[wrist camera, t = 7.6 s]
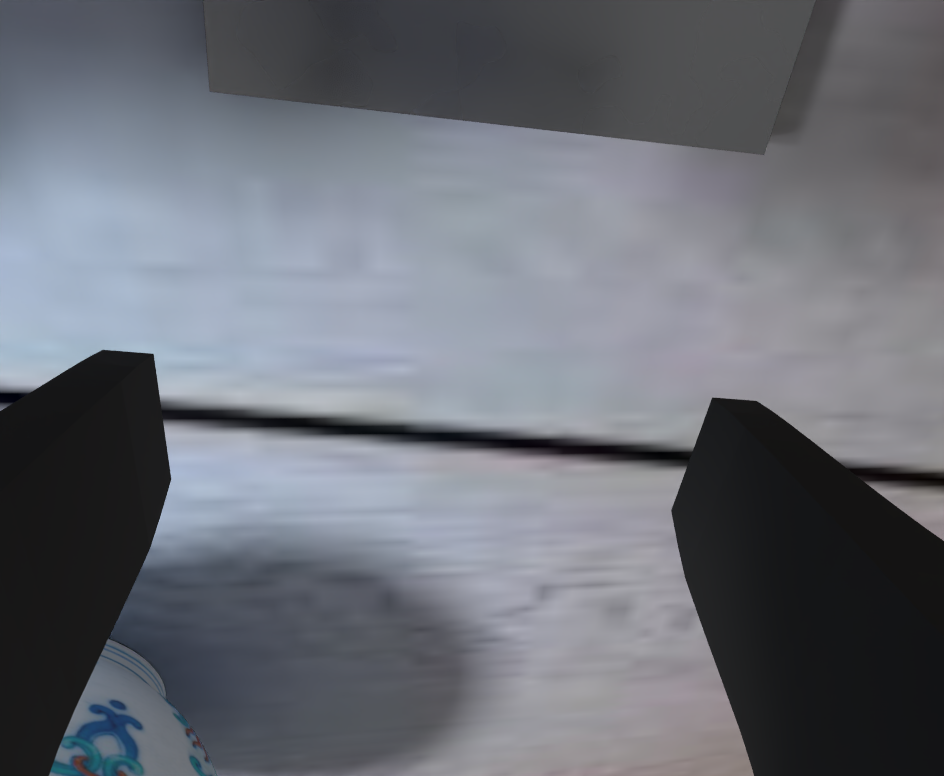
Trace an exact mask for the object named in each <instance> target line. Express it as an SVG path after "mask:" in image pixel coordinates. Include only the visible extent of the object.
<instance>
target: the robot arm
mask: <svg viewBox="0 0 944 776" xmlns="http://www.w3.org/2000/svg"><path fill="white" fill-rule="evenodd" d="M170 482H171V475H170V467H169V460H168V453H167V446H166V439H165V432H164V425H163V418H162V411H161V404H160V397H159V389H158V382H157V375H156V368H155V361H154V354H148V353H135V352H122V351H110V350H102V351H100V352H98V353H96V354H94V355H92V356H90V357H88V358H87V359H85V360H83V361H81V362H80V363H78V364H76V365H75V366H73V367H71V368H70V369H68V370H66V371H65V372H63V373H61V374H60V375H58V376H57V377H55V378H53V379H52V380H50V381H49V382H47V383H45V384H44V385H42V386H41V387H39V388H37V389H36V390H34V391H32V392H31V393H29V394H28V395H26V396H24V397H23V398H21V399H20V400H18V401H16V402H15V403H13V404H11V405H10V406H8V407H7V408H5V409H3V410H2V411H0V776H49V774H50V771H51V768H52V766H53V763H54V760H55V757H56V754H57V751H58V749H59V746H60V744H61V742H62V739H63V737H64V734H65V732H66V730H67V727H68V725H69V723H70V720H71V718H72V715H73V713H74V711H75V708H76V706H77V704H78V702H79V700H80V698H81V696H82V693H83V691H84V689H85V687H86V685H87V683H88V681H89V679H90V676H91V674H92V672H93V670H94V668H95V666H96V664H97V662H98V659H99V657H100V655H101V653H102V651H103V649H104V647H105V645H106V642H107V640H108V638H109V636H110V634H111V632H112V630H113V628H114V625H115V623H116V621H117V619H118V617H119V615H120V613H121V611H122V608H123V606H124V604H125V602H126V600H127V598H128V595H129V593H130V591H131V589H132V587H133V585H134V582H135V580H136V578H137V576H138V574H139V572H140V569H141V567H142V565H143V563H144V561H145V558H146V556H147V554H148V552H149V549H150V547H151V544H152V541H153V537H154V534H155V531H156V528H157V525H158V522H159V519H160V516H161V512H162V509H163V505H164V502H165V499H166V495H167V492H168V488H169V485H170ZM671 511H672V517H673V522H674V527H675V532H676V538H677V543H678V548H679V552H680V557H681V561H682V566H683V570H684V575H685V578H686V581H687V584H688V587H689V590H690V593H691V596H692V599H693V602H694V604H695V607H696V610H697V613H698V616H699V619H700V621H701V624H702V627H703V630H704V633H705V635H706V638H707V641H708V644H709V646H710V649H711V652H712V655H713V657H714V660H715V663H716V666H717V668H718V671H719V674H720V677H721V679H722V682H723V685H724V688H725V690H726V693H727V696H728V699H729V701H730V704H731V707H732V710H733V712H734V715H735V718H736V721H737V723H738V726H739V729H740V732H741V735H742V738H743V741H744V744H745V747H746V750H747V754H748V757H749V760H750V763H751V766H752V770H753V773H754V776H944V541H943V540H942V539H940V538H939V537H937V536H936V535H934V534H933V533H932V532H930V531H929V530H927V529H926V528H925V527H923V526H922V525H920V524H919V523H918V522H916V521H915V520H914V519H912V518H911V517H910V516H908V515H907V514H906V513H904V512H903V511H902V510H900V509H899V508H897V507H896V506H895V505H894V504H892V503H891V502H890V501H888V500H887V499H886V498H884V497H883V496H882V495H880V494H879V493H878V492H876V491H875V490H874V489H873V488H871V487H870V486H869V485H867V484H866V483H865V482H863V481H862V480H861V479H860V478H858V477H857V476H856V475H854V474H853V473H852V472H851V471H849V470H848V469H847V468H845V467H844V466H843V465H842V464H840V463H839V462H838V461H837V460H835V459H834V458H833V457H831V456H830V455H829V454H828V453H826V452H825V451H824V450H823V449H821V448H820V447H819V446H817V445H816V444H815V443H814V442H812V441H811V440H810V439H808V438H807V437H806V436H805V435H803V434H802V433H801V432H799V431H798V430H797V429H795V428H794V427H793V426H791V425H790V424H789V423H788V422H786V421H785V420H783V419H782V418H781V417H779V416H778V415H777V414H775V413H774V412H772V411H771V410H769V409H768V408H766V407H765V406H763V405H762V404H760V403H759V402H757V401H750V400H737V399H724V398H712V400H711V403H710V406H709V408H708V411H707V414H706V417H705V419H704V422H703V425H702V428H701V430H700V433H699V436H698V439H697V441H696V444H695V447H694V450H693V452H692V455H691V458H690V461H689V463H688V466H687V469H686V472H685V474H684V477H683V480H682V483H681V485H680V488H679V491H678V494H677V496H676V499H675V502H674V505H673V507H672V510H671Z"/></svg>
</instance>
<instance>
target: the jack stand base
mask: <svg viewBox="0 0 944 776" xmlns="http://www.w3.org/2000/svg"><path fill="white" fill-rule="evenodd" d="M815 1H816V0H203V6H204V19H205V33H206V47H207V60H208V74H209V88H210V92H217V93H226V94H235V95H244V96H253V97H261V98H270V99H279V100H288V101H296V102H305V103H314V104H323V105H332V106H340V107H349V108H358V109H367V110H376V111H384V112H393V113H402V114H411V115H419V116H428V117H437V118H446V119H455V120H463V121H472V122H481V123H490V124H498V125H507V126H516V127H525V128H534V129H542V130H551V131H560V132H569V133H577V134H586V135H595V136H604V137H613V138H621V139H630V140H639V141H648V142H656V143H665V144H674V145H683V146H692V147H700V148H709V149H718V150H727V151H735V152H744V153H753V154H762V155H764V153H765V150H766V147H767V144H768V141H769V138H770V135H771V132H772V129H773V126H774V123H775V120H776V117H777V114H778V111H779V109H780V106H781V103H782V100H783V97H784V94H785V91H786V88H787V85H788V82H789V79H790V76H791V73H792V70H793V67H794V64H795V61H796V58H797V55H798V52H799V49H800V46H801V43H802V40H803V37H804V34H805V31H806V28H807V25H808V22H809V19H810V16H811V13H812V10H813V7H814V4H815Z"/></svg>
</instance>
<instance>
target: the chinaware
mask: <svg viewBox="0 0 944 776" xmlns="http://www.w3.org/2000/svg"><path fill="white" fill-rule="evenodd" d="M49 776H217V774H216V772H215V769H214V767H213V765H212V762H211V760H210V758H209V756H208V754H207V752H206V750H205V748H204V747H203V745H202V743H201V741H200V740H199V738H198V737H197V735H196V734H195V732H194V731H193V729H192V728H191V726H190V725H189V724H188V722H187V721H186V720H185V719H184V717H183V716H182V715H181V714H180V713H179V712H178V711H177V709H176V708H175V707H174V706H173V705H172V704H171V703H170V702H169V701H168V700H167V699H166V692H165V687H164V684H163V681H162V679H161V678H160V676H159V674H158V673H157V672H156V670H155V669H154V668H153V667H152V666H151V665H150V664H149V663H148V662H147V661H146V660H145V659H144V658H142V657H141V656H140V655H138V654H137V653H135V652H134V651H132V650H131V649H129V648H127V647H125V646H123V645H121V644H119V643H117V642H115V641H112V640H110V639H108V640H107V642H106V645H105V647H104V649H103V651H102V653H101V655H100V657H99V659H98V662H97V664H96V666H95V668H94V670H93V672H92V674H91V676H90V679H89V681H88V683H87V685H86V687H85V689H84V691H83V693H82V696H81V698H80V700H79V702H78V704H77V706H76V708H75V711H74V713H73V715H72V718H71V720H70V723H69V725H68V727H67V730H66V732H65V734H64V737H63V739H62V742H61V744H60V746H59V749H58V751H57V754H56V757H55V760H54V763H53V766H52V768H51V771H50V774H49Z"/></svg>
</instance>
